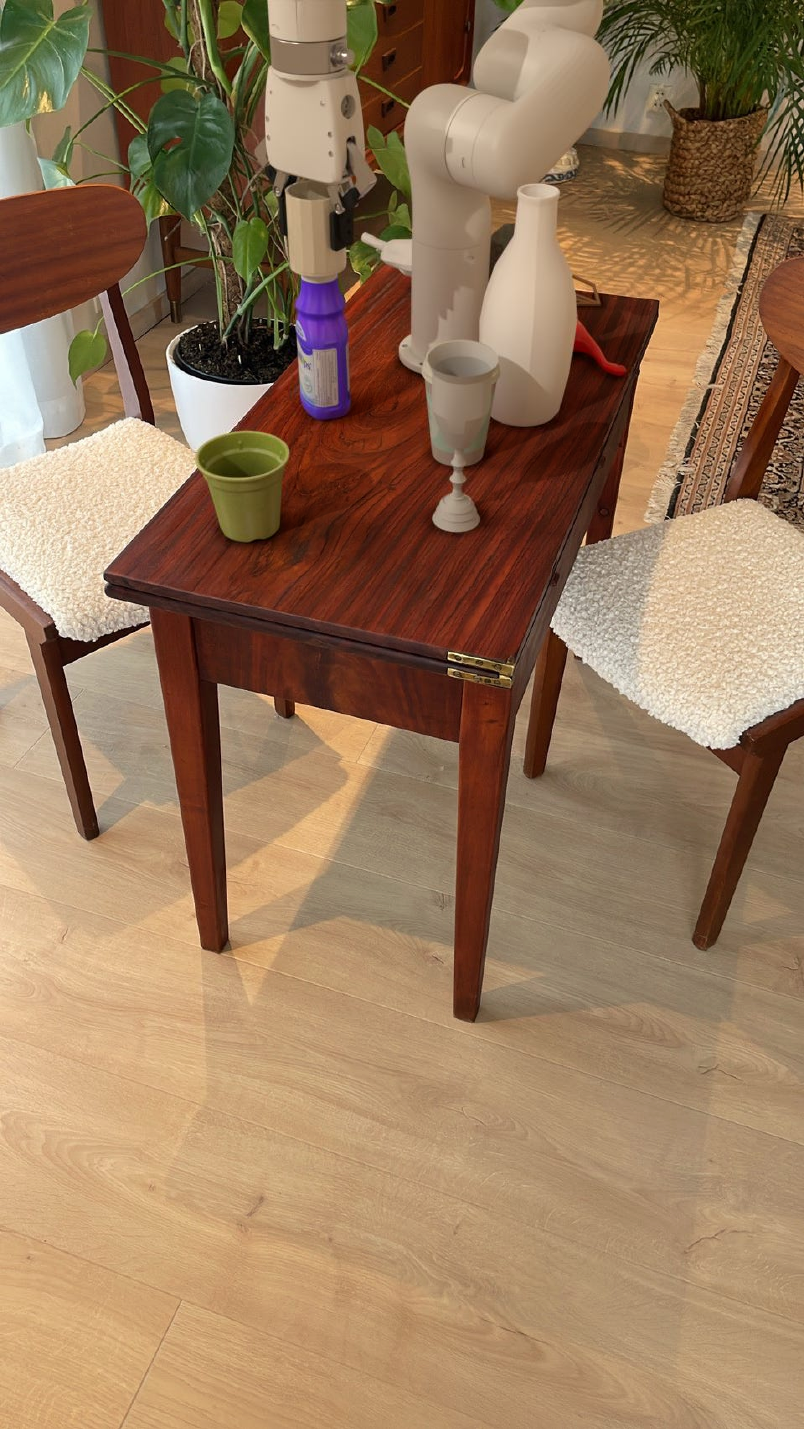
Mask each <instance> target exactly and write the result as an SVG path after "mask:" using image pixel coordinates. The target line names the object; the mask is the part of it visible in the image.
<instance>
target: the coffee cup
mask: <svg viewBox="0 0 804 1429" xmlns="http://www.w3.org/2000/svg"><path fill="white" fill-rule="evenodd" d="M452 342H472V343H478V344H482V345H484V346H487V345H485V344H483V343H480V342H476V341H471V340H450V341H445V342H441V343H438V344H436V345H434V346H433V347H431V348H430V349H429V351H428V353H427V356H426V359H425V360H424V362H423V367H422V371H421V372H422V374H421V375H422V378H423V379H424V384H425V394H426V405H427V413H428V423H429V425H428V426H429V433H430V434H429V435H430V444H431V452H432V456H433V458H434V459H435V461H437V462H438V463H440V464H441V465H445V466H449V467H453V466H452V464H451V461H452V460H453V458H454V454H455V450H454V448H451V447H449V446H448V445H447V443H446V441H445V439H444V437H443V435H442V433H441V431H440V429H439V427H438V425H437V423H436V419H435V416H434V413H433V410H432V407H431V406H432V369H431V367H430V365H429V363H428V361H427V360H428V355H429V353H430V352H431V351H432V350H433V349H435V348H436V347H438V346H440V345H443V344H446V343H452ZM487 347H489V346H487ZM489 348H490V347H489ZM491 349H492V348H491ZM492 350H493V349H492ZM493 351H494V350H493ZM500 374H501V372H500V365H499V362H498V364H497V366H496V367H495V369H494V371H493V374H492V390H491V406H490V410H489V413H488V415H487V418H486V420H485V422H484V425H483V426H482V428H481V430H480V432H479V433H478V435H477V437H476V438H475V440H474V442H473V444H472V445H471V446H470V447H468V448H465V449H464V451H463V455H464V460H465V461H466V465H465V466H464V467H469V466H473V465H474V464H477V463H478V462H480V461H481V460H482V459H483V456H484V452H485V448H486V447H485V446H486V443H487V442H486V441H487V436H488V430H489V426H490V420H491V416H490V415H491V410H492V404H493V399H494V393H495V388H496V382H497V380H498V379H499V377H500Z"/></svg>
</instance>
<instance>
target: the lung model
mask: <svg viewBox="0 0 804 1429" xmlns="http://www.w3.org/2000/svg"><path fill="white" fill-rule="evenodd" d="M360 241H361V242H363V243H364V244H366V245H368V246H370V247H372V248H374V249H376V250H378V251H380V253H381V254H380V257H379V259H380V260H381V261H382V262H383V263H384V264H385V265H386V266H388V267H392V268H395V269H398V270H399V271H400V273H401V274H402V275H404V276H406V277H410V278H412V238H402V239H401V238H400V239H396V238H395V239H394V238H392V239H390V240H389V241H385V240H383V239H380V238H377V237H376V236H375V235H373V234H370V233H368V232H366V231H365V232H363V233H362V234H361V237H360Z"/></svg>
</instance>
